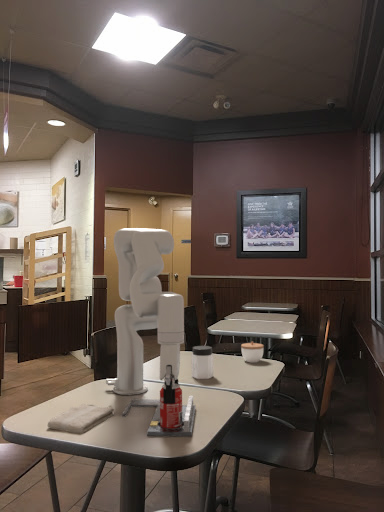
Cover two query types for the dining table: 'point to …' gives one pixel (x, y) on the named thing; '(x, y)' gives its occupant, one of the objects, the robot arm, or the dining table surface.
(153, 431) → the rack
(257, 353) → the lidded jar
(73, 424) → the washcloth
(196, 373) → the jar
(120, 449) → the dining table surface
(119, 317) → the robot arm
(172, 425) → the beverage can
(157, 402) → the grey flat l-shaped piece
